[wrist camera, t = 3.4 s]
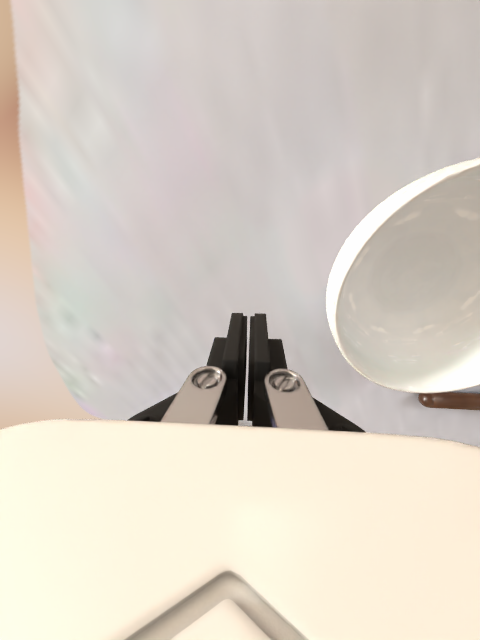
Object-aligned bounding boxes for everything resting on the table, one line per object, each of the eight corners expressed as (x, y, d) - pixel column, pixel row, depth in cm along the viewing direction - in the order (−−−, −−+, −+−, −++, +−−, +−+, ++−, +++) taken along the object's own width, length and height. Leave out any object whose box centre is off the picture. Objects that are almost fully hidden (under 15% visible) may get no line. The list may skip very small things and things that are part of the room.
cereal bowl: (309, 351, 26) (326, 399, 20) (316, 181, 19) (345, 172, 13) (475, 344, 24) (551, 393, 18) (555, 152, 17) (729, 123, 11)
